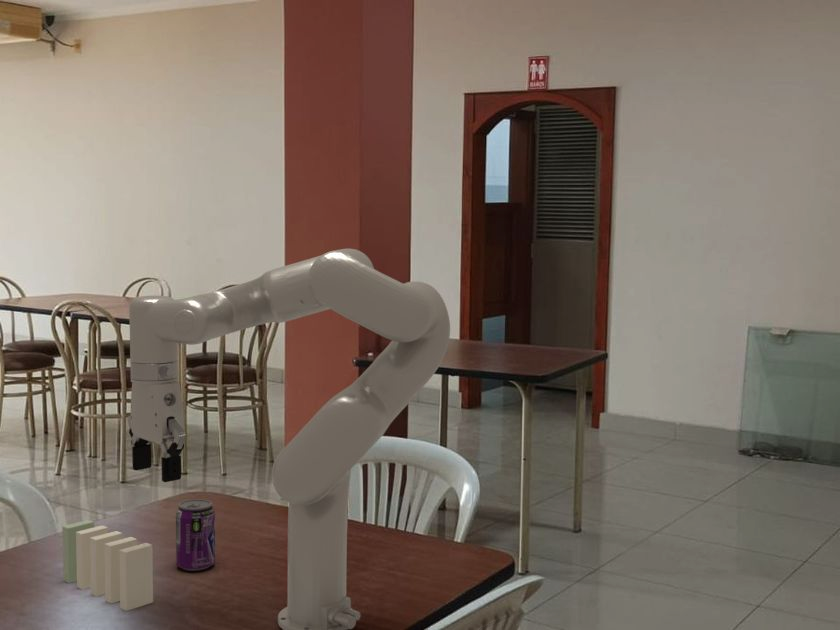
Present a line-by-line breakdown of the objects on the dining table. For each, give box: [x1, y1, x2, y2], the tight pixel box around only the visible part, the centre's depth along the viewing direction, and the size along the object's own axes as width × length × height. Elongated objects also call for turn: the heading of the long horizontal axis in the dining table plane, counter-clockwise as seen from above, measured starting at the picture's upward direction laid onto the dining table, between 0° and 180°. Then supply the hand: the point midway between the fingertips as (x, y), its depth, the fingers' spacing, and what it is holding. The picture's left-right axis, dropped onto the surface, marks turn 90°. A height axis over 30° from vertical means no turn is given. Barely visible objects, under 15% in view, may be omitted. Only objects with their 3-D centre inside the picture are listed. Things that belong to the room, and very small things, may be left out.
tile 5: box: [61, 519, 95, 584], centre depth 184 cm, size 2×5×10 cm, turn 139°
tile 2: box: [104, 536, 138, 604], centre depth 175 cm, size 2×5×10 cm, turn 139°
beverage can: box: [175, 498, 216, 572], centre depth 191 cm, size 7×7×12 cm
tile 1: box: [119, 542, 154, 612], centre depth 172 cm, size 2×5×10 cm, turn 139°
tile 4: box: [76, 525, 109, 591], centre depth 181 cm, size 2×5×10 cm, turn 139°
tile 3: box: [90, 530, 123, 598], centre depth 178 cm, size 2×5×10 cm, turn 139°
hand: (156, 474), depth 169 cm, fingers open, 9 cm apart
